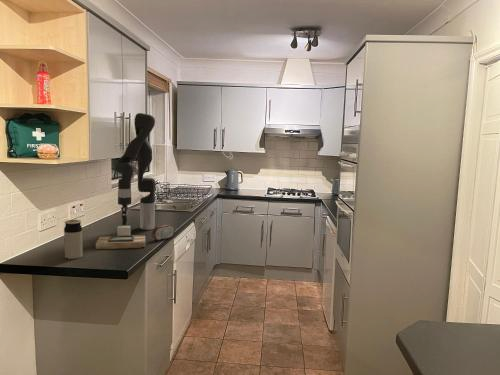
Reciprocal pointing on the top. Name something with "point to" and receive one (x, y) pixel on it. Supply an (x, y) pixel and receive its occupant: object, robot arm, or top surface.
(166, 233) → the tin
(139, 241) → the loading dock
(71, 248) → the travel mug
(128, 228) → the white block
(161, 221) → the top surface
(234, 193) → the top surface
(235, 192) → the top surface
